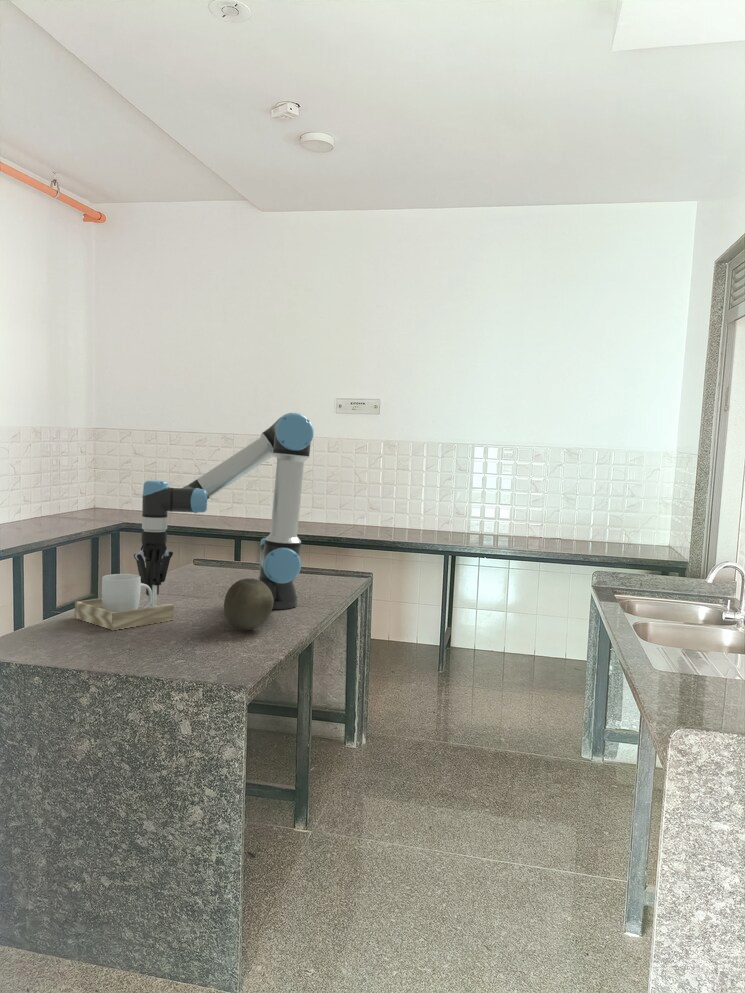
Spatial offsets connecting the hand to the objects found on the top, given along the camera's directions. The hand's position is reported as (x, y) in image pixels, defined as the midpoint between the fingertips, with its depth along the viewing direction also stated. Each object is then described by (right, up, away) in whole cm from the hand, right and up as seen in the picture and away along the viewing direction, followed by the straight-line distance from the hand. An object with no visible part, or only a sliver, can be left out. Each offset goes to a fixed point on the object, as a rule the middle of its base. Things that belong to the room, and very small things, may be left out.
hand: (152, 605), depth 228 cm
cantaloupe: (+32, -5, -14) cm, 36 cm away
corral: (-6, -3, -8) cm, 10 cm away
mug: (-6, -3, -8) cm, 10 cm away
